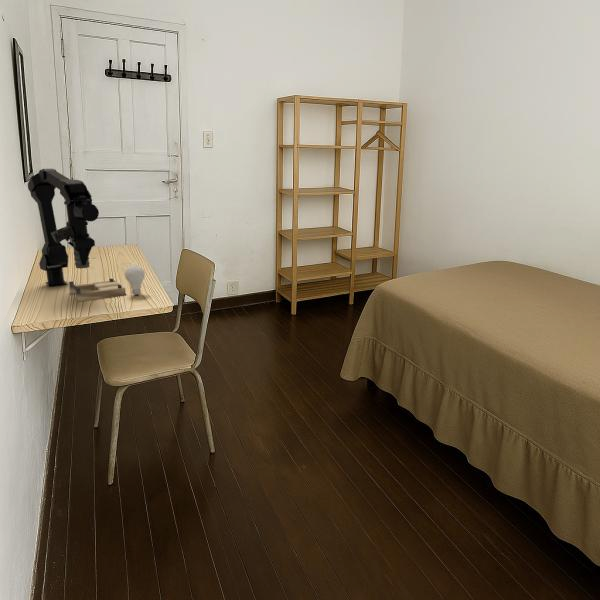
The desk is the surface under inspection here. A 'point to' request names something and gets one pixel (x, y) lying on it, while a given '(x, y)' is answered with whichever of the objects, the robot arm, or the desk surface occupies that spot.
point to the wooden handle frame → (97, 290)
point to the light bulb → (135, 278)
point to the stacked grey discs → (78, 261)
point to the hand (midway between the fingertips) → (82, 263)
